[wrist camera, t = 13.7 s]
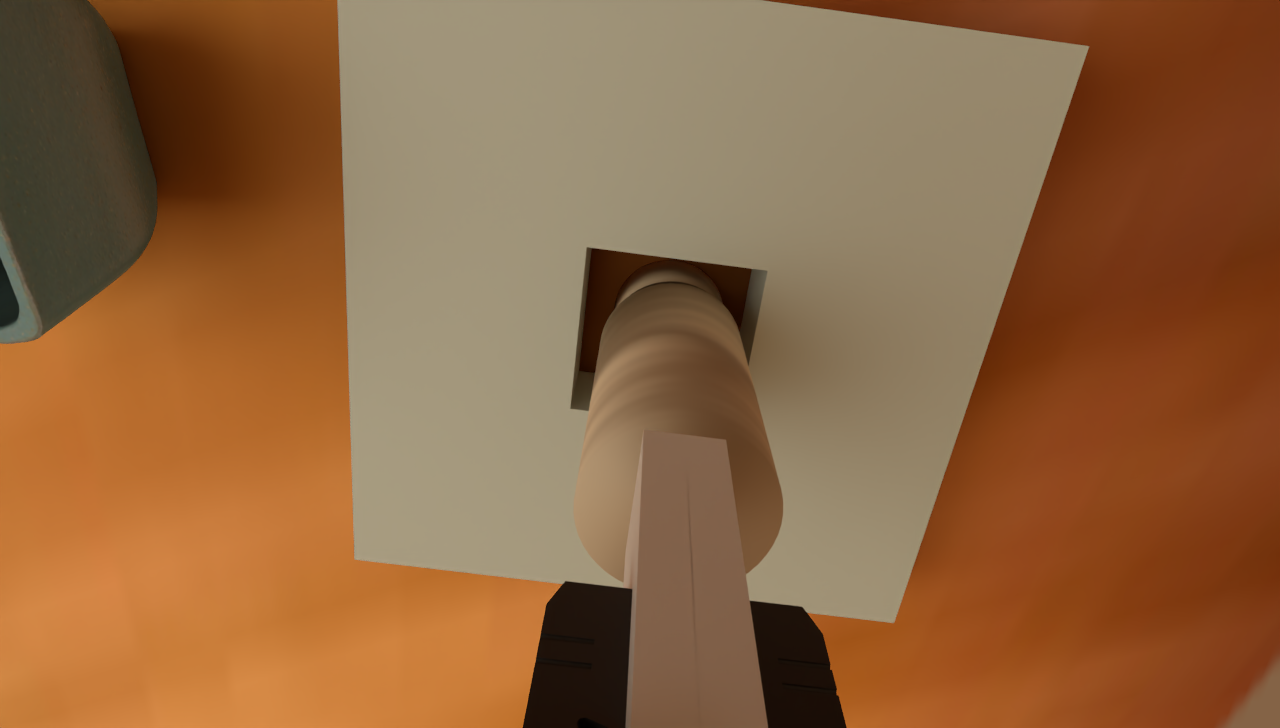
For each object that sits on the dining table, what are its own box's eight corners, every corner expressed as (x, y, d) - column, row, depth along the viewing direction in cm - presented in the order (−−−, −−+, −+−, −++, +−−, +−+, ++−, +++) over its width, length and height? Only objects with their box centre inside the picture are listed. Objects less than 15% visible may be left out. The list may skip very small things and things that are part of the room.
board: (381, 511, 31) (354, 559, 28) (374, -51, 23) (335, -60, 20) (874, 570, 32) (894, 623, 29) (1038, 42, 23) (1089, 46, 21)
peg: (600, 361, 28) (565, 584, 17) (613, 244, 26) (583, 408, 15) (720, 376, 28) (762, 604, 17) (741, 259, 26) (803, 433, 15)
